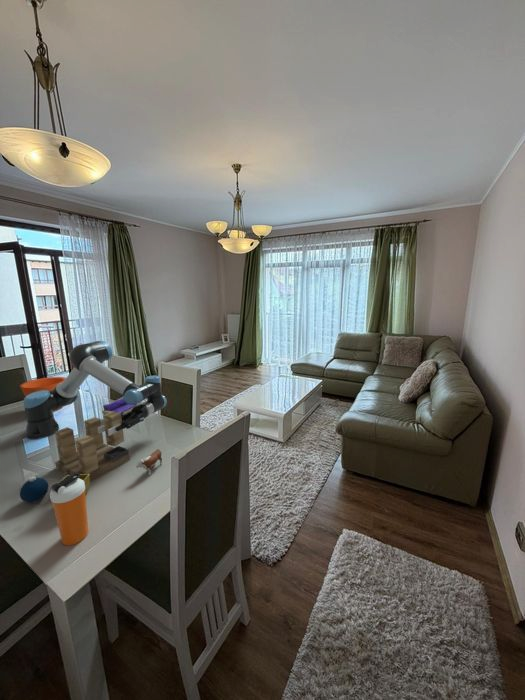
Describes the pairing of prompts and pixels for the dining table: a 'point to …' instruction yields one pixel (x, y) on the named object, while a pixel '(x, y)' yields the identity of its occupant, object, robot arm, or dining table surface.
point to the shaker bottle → (70, 509)
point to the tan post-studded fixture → (88, 452)
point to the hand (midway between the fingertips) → (103, 431)
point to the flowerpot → (41, 385)
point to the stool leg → (111, 421)
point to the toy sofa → (118, 407)
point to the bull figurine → (150, 461)
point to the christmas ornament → (34, 489)
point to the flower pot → (86, 480)
